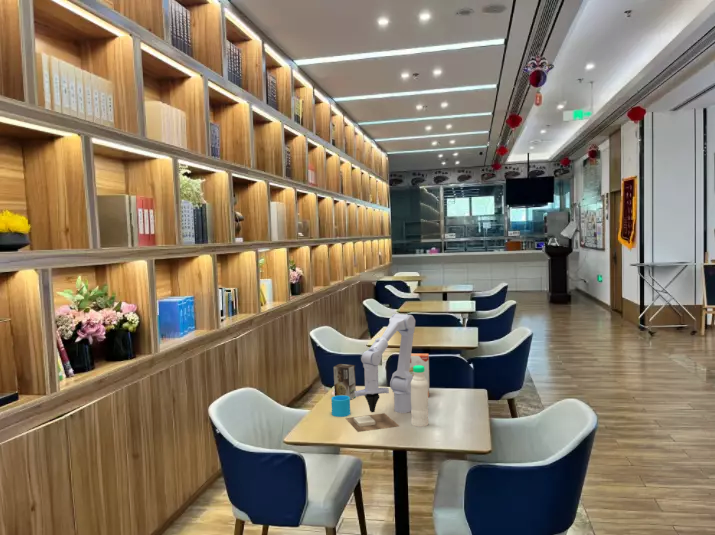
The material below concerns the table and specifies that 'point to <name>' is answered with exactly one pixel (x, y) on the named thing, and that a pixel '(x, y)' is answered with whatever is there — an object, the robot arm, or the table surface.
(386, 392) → the robot arm
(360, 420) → the tile
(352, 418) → the board
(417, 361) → the cracker box
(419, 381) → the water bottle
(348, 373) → the coffee box
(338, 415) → the mug
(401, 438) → the table surface
